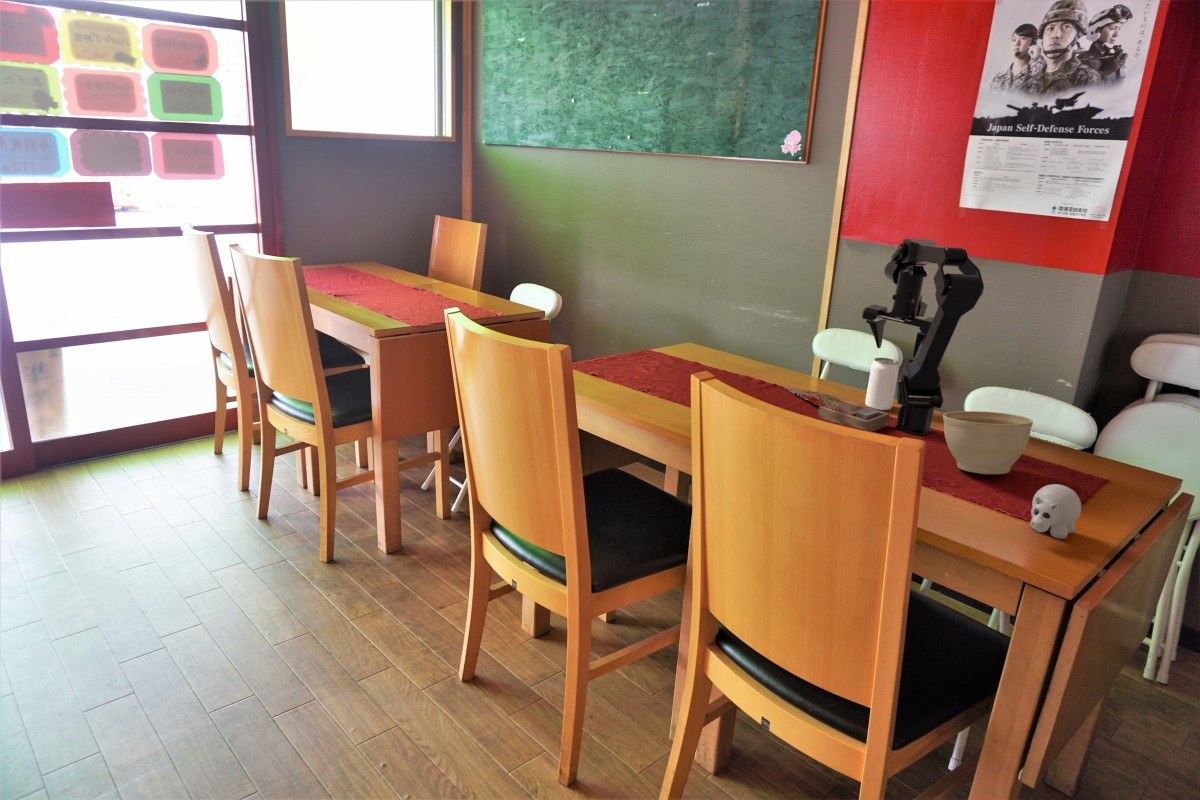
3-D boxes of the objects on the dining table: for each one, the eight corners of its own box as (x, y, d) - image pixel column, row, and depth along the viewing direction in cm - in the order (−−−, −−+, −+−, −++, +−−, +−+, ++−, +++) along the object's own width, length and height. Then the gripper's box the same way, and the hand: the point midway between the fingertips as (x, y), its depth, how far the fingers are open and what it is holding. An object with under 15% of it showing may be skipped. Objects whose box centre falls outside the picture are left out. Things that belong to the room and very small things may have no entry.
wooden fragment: (878, 416, 191) (879, 412, 191) (847, 422, 186) (848, 418, 185) (801, 386, 212) (802, 382, 212) (771, 391, 206) (772, 387, 206)
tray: (887, 426, 184) (889, 413, 183) (865, 434, 177) (867, 422, 176) (839, 411, 192) (841, 399, 191) (817, 418, 186) (819, 406, 185)
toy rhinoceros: (1007, 536, 133) (1018, 490, 130) (1036, 518, 140) (1048, 474, 137) (1051, 553, 127) (1064, 506, 125) (1080, 534, 135) (1092, 488, 132)
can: (889, 404, 200) (897, 358, 196) (893, 412, 194) (902, 365, 190) (863, 401, 201) (870, 356, 197) (866, 409, 195) (874, 362, 191)
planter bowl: (1023, 465, 163) (1028, 413, 161) (1031, 483, 148) (1037, 427, 146) (939, 457, 169) (943, 407, 167) (939, 474, 154) (943, 420, 153)
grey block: (879, 425, 183) (881, 411, 182) (864, 431, 179) (866, 416, 178) (865, 421, 186) (867, 407, 185) (850, 427, 181) (852, 412, 180)
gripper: (960, 293, 189) (946, 355, 195) (886, 278, 200) (875, 337, 206) (942, 301, 181) (928, 365, 187) (866, 285, 193) (855, 346, 199)
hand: (896, 352), depth 195 cm, fingers open, 9 cm apart
